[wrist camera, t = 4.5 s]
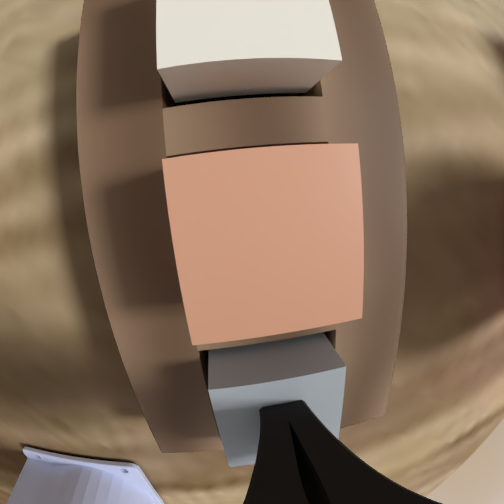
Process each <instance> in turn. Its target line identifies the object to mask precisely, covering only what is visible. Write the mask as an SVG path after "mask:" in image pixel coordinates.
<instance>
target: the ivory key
mask: <svg viewBox="0 0 504 504" xmlns="http://www.w3.org/2000/svg"><path fill="white" fill-rule="evenodd" d="M156 52H157V70H158V72H159V74H160V76H161V77H162V79H163V81H164V83H165V85H166V87H167V88H168V90H169V92H170V94H171V96H172V97H173V99H174V101H175V103H178V102H185V101H192V100H199V99H208V98H217V97H227V96H239V95H253V94H274V93H306V92H307V91H308V90H309V89H311V88H312V87H313V86H314V85H315V84H316V83H317V82H318V81H319V80H321V79H322V78H323V77H324V76H325V75H326V74H327V73H329V72H330V71H331V70H332V69H333V68H334V67H335V66H337V65H338V64H339V63H340V62H341V61H342V56H341V51H340V46H339V41H338V37H337V32H336V28H335V23H334V19H333V15H332V11H331V7H330V3H329V0H156Z"/></svg>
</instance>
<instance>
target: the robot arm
mask: <svg viewBox="0 0 504 504" xmlns="http://www.w3.org/2000/svg"><path fill="white" fill-rule="evenodd" d="M259 413H260V436H259V444H258V450H257V456H256V462H255V466H254V470H253V474H252V478H251V481H250V485H249V488H248V492H247V495H246V498H245V500H244V503H243V504H442V503H439V502H436V501H433V500H431V499H428V498H426V497H424V496H421V495H419V494H417V493H415V492H413V491H410V490H408V489H406V488H404V487H402V486H401V485H399V484H397V483H395V482H394V481H392V480H390V479H388V478H387V477H385V476H384V475H382V474H381V473H379V472H378V471H376V470H375V469H373V468H372V467H370V466H369V465H368V464H366V463H365V462H364V461H362V460H361V459H360V458H359V457H358V456H356V455H355V454H354V453H353V452H351V451H350V450H349V449H348V448H347V447H346V446H345V445H344V444H343V443H342V442H340V441H339V440H338V439H337V438H336V437H335V436H334V435H333V434H332V433H331V432H330V431H329V430H328V429H327V428H326V427H325V425H324V424H323V423H322V422H321V421H320V420H319V419H318V418H317V416H316V415H315V414H314V413H313V412H312V410H311V409H310V408H309V407H308V405H307V404H306V402H305V401H303V400H298V401H293V402H288V403H283V404H277V405H271V406H265V407H262V408H261V409H260V410H259ZM23 453H24V454H25V455H26V456H27V458H28V459H27V461H26V463H25V465H24V467H23V469H22V471H21V473H20V475H19V477H18V479H17V482H16V484H15V486H14V488H13V490H12V493H11V495H10V497H9V499H8V502H7V504H165V503H164V502H163V501H162V499H161V498H160V497H159V495H158V494H157V492H156V491H155V490H154V488H153V487H152V485H151V484H150V482H149V481H148V479H147V478H146V476H145V475H144V473H143V472H142V470H141V469H140V467H139V466H138V465H136V464H133V463H126V462H114V461H104V460H95V459H87V458H80V457H74V456H68V455H63V454H57V453H52V452H48V451H43V450H39V449H34V448H30V447H26V446H25V447H24V448H23Z"/></svg>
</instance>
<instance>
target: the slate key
mask: <svg viewBox="0 0 504 504" xmlns="http://www.w3.org/2000/svg"><path fill="white" fill-rule="evenodd" d="M345 376H346V365H345V364H344V362H343V361H342V359H341V358H340V356H339V355H338V353H337V352H336V350H335V349H334V347H333V346H332V344H331V343H330V341H329V340H328V338H327V337H326V336H325V334H324V333H323V332H321V333H316V334H311V335H305V336H300V337H294V338H288V339H282V340H276V341H270V342H263V343H257V344H250V345H242V346H235V347H227V348H219V349H210V350H209V361H208V392H209V396H210V400H211V404H212V408H213V411H214V415H215V419H216V423H217V426H218V430H219V434H220V437H221V441H222V444H223V448H224V451H225V455H226V458H227V461H228V465H229V467H233V466H242V465H250V464H255V462H256V456H257V450H258V444H259V436H260V413H259V410H260V409H261V408H262V407H265V406H271V405H277V404H283V403H288V402H293V401H298V400H303V401H305V402H306V404H307V405H308V407H309V408H310V409H311V410H312V412H313V413H314V414H315V415H316V416H317V418H318V419H319V420H320V421H321V422H322V423H323V424H324V425H325V427H326V428H327V429H328V430H329V431H330V432H331V433H332V434H333V435H334V436H335V437H336V438H337V439H338V438H339V431H340V424H341V415H342V407H343V397H344V387H345Z"/></svg>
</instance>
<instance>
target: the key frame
mask: <svg viewBox="0 0 504 504" xmlns="http://www.w3.org/2000/svg"><path fill="white" fill-rule="evenodd" d="M329 3H330V7H331V11H332V15H333V19H334V23H335V28H336V32H337V37H338V41H339V46H340V51H341V56H342V61H341V62H340V63H339V64H338V65H337V66H335V67H334V68H333V69H332V70H331V71H330V72H329V73H327V74H326V75H325V76H324V77H323V78H322V79H321V80H319V81H318V82H317V83H316V84H315V85H314V86H313V87H312V88H311V89H309V90H308V91H307V92H306V93H298V96H291V97H262V98H245V99H233V100H222V101H212V102H204V103H196V104H189V105H182V106H175V107H173V97H172V96H171V94H170V92H169V90H168V88H167V87H166V85H165V83H164V81H163V79H162V77H161V76H160V74H159V72H158V70H157V52H156V0H84V4H83V11H82V18H81V26H80V36H79V47H78V61H77V86H76V113H77V139H78V154H79V166H80V176H81V185H82V193H83V201H84V208H85V215H86V221H87V227H88V233H89V238H90V243H91V248H92V253H93V258H94V263H95V267H96V272H97V276H98V280H99V284H100V288H101V292H102V296H103V300H104V303H105V307H106V311H107V314H108V318H109V321H110V324H111V328H112V331H113V334H114V337H115V340H116V343H117V347H118V349H119V352H120V355H121V358H122V361H123V364H124V367H125V369H126V372H127V375H128V377H129V380H130V383H131V385H132V388H133V390H134V393H135V395H136V398H137V400H138V403H139V405H140V407H141V410H142V412H143V414H144V416H145V419H146V421H147V423H148V425H149V428H150V430H151V432H152V434H153V436H154V438H155V440H156V442H157V444H158V446H159V448H160V450H161V452H162V453H178V452H202V451H216V450H224V448H223V444H222V441H221V437H220V434H219V430H218V426H217V423H216V419H215V415H214V411H213V408H212V404H211V400H210V396H209V392H208V361H209V356H208V351H207V350H210V349H219V348H227V347H235V346H242V345H250V344H257V343H263V342H270V341H276V340H282V339H288V338H294V337H300V336H305V335H311V334H316V333H321V332H323V333H324V334H325V336H326V337H327V338H328V340H329V341H330V343H331V344H332V346H333V347H334V349H335V350H336V352H337V353H338V355H339V356H340V358H341V359H342V361H343V362H344V364H345V365H346V376H345V387H344V397H343V407H342V415H341V424H340V428H344V427H347V426H351V425H354V424H357V423H361V422H364V421H367V420H370V419H373V418H376V417H379V416H382V415H385V411H386V407H387V403H388V398H389V394H390V389H391V384H392V379H393V374H394V368H395V363H396V357H397V350H398V344H399V337H400V329H401V321H402V312H403V302H404V291H405V277H406V258H407V191H406V172H405V158H404V147H403V137H402V129H401V121H400V113H399V107H398V100H397V94H396V88H395V83H394V77H393V72H392V67H391V63H390V58H389V54H388V50H387V45H386V41H385V37H384V34H383V30H382V26H381V23H380V19H379V16H378V12H377V9H376V6H375V3H374V0H329ZM347 143H358V148H359V158H360V170H361V184H362V202H363V229H364V284H363V311H362V318H361V319H356V320H351V321H347V322H342V323H337V324H332V325H327V326H322V327H317V328H311V329H306V330H300V331H295V332H289V333H283V334H277V335H270V336H264V337H257V338H250V339H243V340H235V341H227V342H219V343H210V344H201V345H192V342H191V337H190V333H189V328H188V323H187V319H186V314H185V309H184V304H183V299H182V293H181V288H180V283H179V277H178V271H177V266H176V260H175V254H174V248H173V241H172V235H171V228H170V221H169V214H168V207H167V199H166V191H165V183H164V174H163V165H162V159H166V158H173V157H179V156H186V155H193V154H201V153H209V152H217V151H226V150H235V149H246V148H257V147H270V146H285V145H305V144H347Z"/></svg>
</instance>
